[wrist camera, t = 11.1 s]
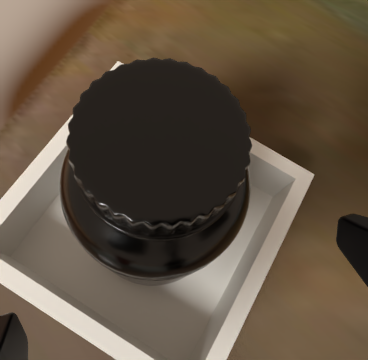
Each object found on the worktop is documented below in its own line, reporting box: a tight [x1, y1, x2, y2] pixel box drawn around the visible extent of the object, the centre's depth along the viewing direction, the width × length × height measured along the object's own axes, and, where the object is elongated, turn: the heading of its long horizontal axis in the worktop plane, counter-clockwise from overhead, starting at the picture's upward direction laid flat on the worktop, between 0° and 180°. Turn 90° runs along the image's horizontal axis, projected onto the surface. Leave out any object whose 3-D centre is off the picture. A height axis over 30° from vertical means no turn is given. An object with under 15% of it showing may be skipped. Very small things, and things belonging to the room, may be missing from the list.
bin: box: [0, 61, 314, 360], centre depth 19 cm, size 13×13×4 cm
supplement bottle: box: [59, 58, 252, 286], centre depth 14 cm, size 7×7×12 cm
